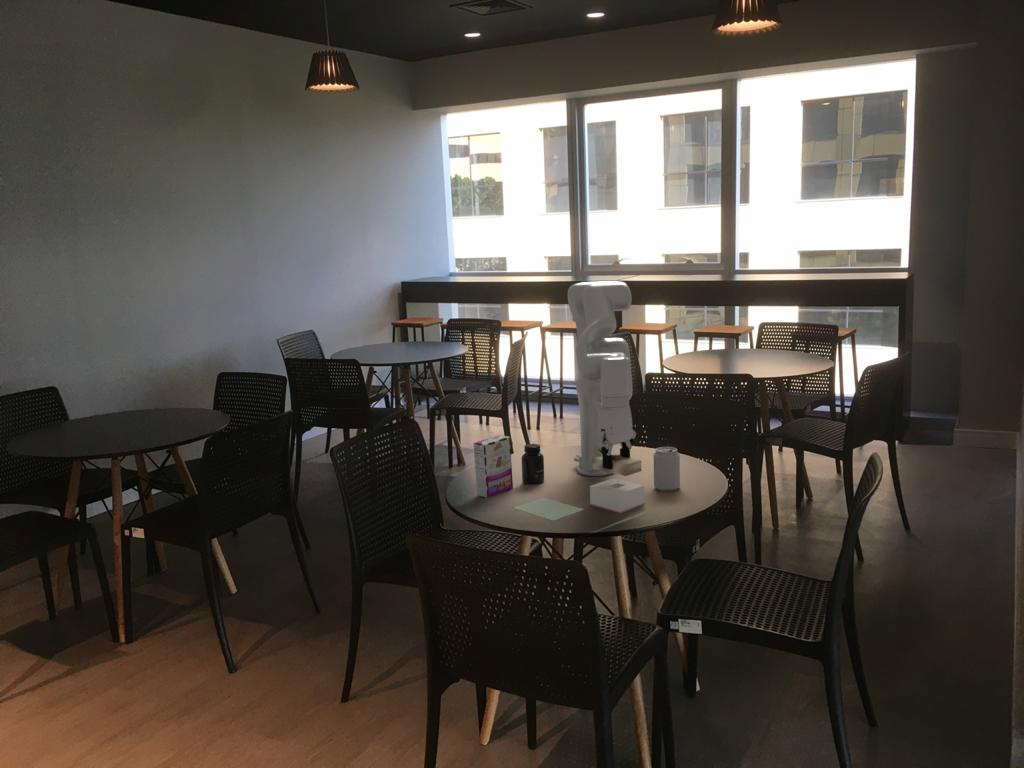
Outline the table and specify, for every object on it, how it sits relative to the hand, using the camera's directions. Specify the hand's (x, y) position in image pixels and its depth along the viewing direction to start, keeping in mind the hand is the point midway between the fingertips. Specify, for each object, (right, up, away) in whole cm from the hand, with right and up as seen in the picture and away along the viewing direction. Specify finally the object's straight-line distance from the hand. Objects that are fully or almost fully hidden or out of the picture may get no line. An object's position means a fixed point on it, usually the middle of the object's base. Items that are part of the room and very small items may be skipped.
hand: (616, 465), depth 231 cm
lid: (0, -1, 0) cm, 1 cm away
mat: (-19, -13, +2) cm, 23 cm away
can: (+17, -9, +17) cm, 25 cm away
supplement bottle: (-22, -8, +28) cm, 36 cm away
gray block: (0, -12, +2) cm, 12 cm away
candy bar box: (-34, -10, +20) cm, 41 cm away
